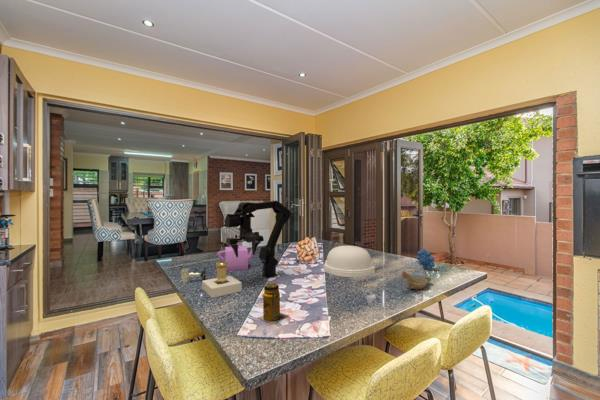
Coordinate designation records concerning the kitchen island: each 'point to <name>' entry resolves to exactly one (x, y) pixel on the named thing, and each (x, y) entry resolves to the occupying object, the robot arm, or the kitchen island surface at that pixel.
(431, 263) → the grapes
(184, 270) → the valve
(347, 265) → the dome cover
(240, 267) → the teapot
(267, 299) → the condiment
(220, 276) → the brass bushing
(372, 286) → the kitchen island surface
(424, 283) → the oil lamp
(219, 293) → the jig plate
